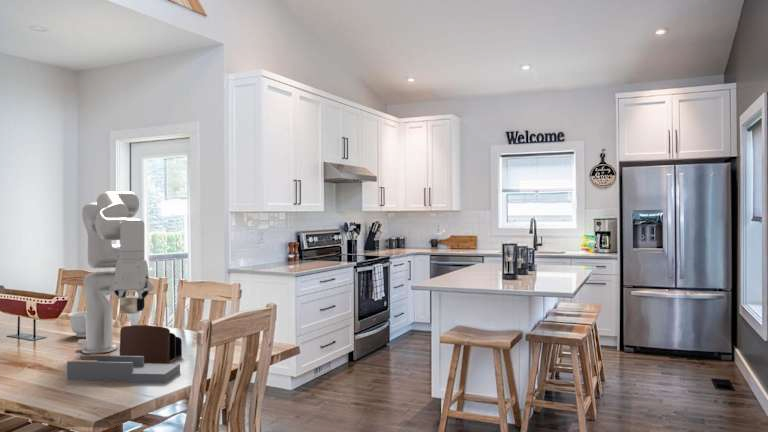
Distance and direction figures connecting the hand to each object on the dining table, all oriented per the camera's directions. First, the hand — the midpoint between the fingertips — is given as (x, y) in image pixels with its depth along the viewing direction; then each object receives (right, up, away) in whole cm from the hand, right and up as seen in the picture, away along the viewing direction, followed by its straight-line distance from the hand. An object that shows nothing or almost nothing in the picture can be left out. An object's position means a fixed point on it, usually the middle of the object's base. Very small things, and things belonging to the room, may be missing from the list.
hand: (132, 309), depth 185 cm
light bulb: (-34, -23, +76) cm, 86 cm away
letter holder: (-4, -24, +24) cm, 34 cm away
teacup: (-50, -23, +63) cm, 83 cm away
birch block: (0, -1, -1) cm, 1 cm away
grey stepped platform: (-4, -23, +2) cm, 24 cm away
